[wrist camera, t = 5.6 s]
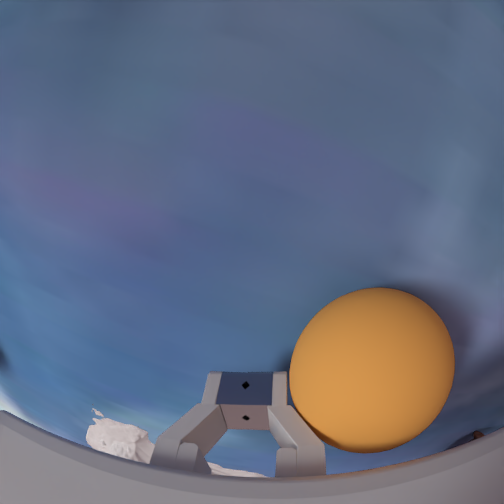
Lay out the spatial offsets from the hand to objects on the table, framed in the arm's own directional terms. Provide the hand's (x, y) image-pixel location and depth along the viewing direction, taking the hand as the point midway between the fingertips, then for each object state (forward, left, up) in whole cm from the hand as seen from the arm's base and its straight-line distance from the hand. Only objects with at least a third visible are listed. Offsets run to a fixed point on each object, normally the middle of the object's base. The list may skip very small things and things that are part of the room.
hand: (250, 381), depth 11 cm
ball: (-1, +4, +1) cm, 5 cm away
